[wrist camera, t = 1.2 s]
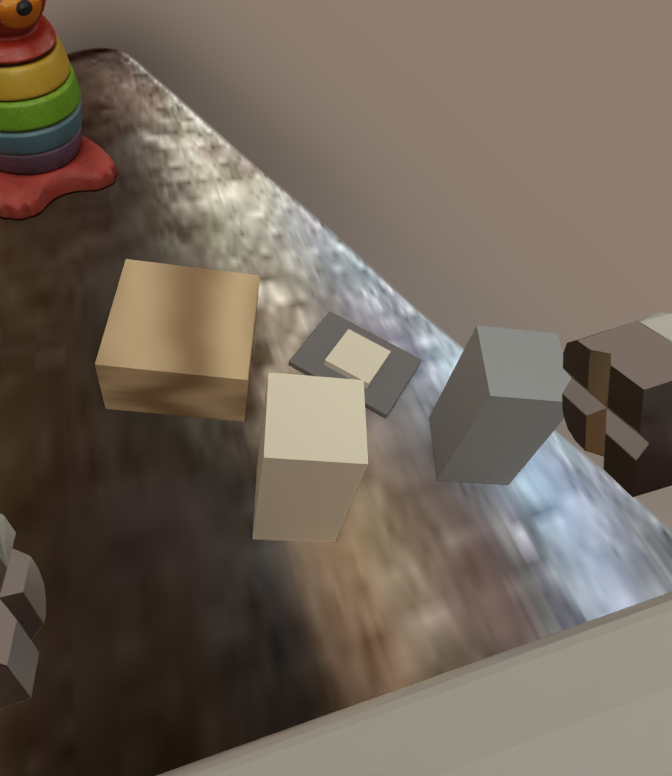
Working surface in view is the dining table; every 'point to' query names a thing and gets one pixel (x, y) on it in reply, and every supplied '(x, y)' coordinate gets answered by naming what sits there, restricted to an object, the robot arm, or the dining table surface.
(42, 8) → the stacking bear
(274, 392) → the cream block
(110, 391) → the oak pedestal
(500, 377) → the grey block
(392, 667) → the dining table surface
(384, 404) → the card
